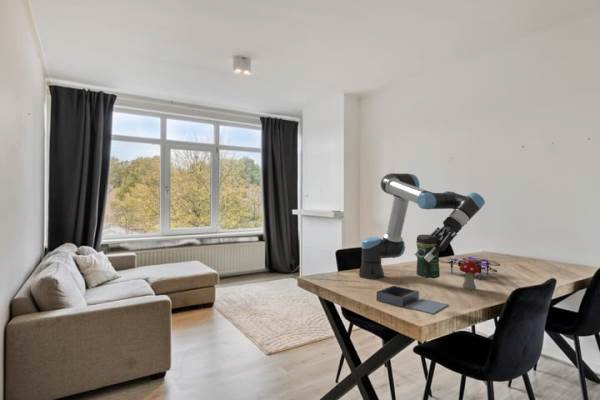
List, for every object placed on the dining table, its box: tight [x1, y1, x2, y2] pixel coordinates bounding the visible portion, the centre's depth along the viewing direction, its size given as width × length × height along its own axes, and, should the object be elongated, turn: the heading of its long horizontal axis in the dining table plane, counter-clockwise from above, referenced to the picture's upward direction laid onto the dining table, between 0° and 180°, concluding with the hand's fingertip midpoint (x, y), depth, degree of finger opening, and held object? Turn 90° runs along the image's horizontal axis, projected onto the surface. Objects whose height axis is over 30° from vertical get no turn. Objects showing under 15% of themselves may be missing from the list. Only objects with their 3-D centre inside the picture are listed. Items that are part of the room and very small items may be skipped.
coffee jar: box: [416, 234, 441, 280], centre depth 146 cm, size 10×8×19 cm
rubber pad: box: [405, 298, 450, 315], centre depth 146 cm, size 12×16×1 cm
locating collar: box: [376, 285, 420, 308], centre depth 156 cm, size 13×15×4 cm
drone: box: [439, 256, 501, 281], centre depth 205 cm, size 40×10×28 cm
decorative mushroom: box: [459, 260, 479, 291], centre depth 174 cm, size 10×9×15 cm
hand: (421, 257), depth 146 cm, fingers closed on coffee jar, 9 cm apart
